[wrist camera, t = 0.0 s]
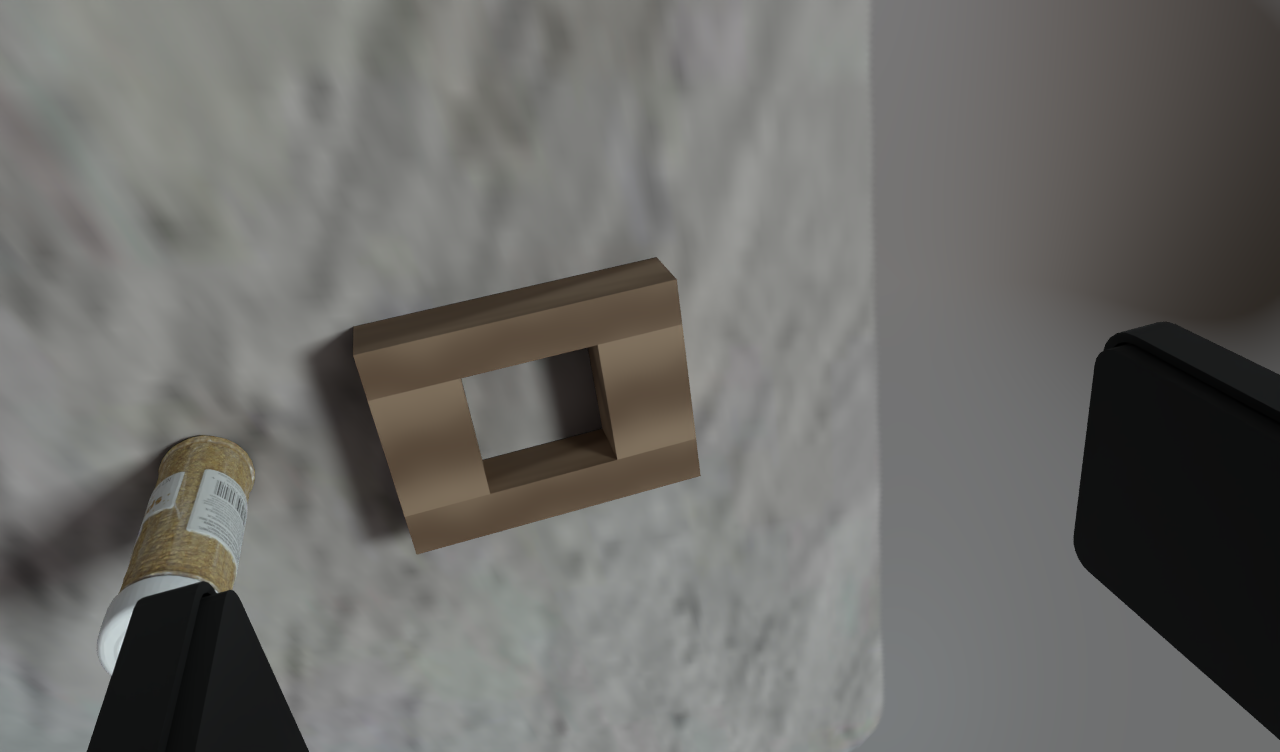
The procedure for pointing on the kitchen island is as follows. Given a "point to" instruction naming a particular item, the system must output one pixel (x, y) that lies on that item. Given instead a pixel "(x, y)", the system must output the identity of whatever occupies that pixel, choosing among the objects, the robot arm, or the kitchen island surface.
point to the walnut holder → (514, 334)
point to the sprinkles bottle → (185, 531)
